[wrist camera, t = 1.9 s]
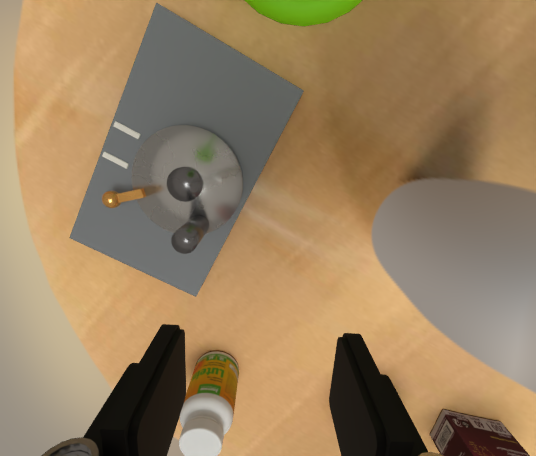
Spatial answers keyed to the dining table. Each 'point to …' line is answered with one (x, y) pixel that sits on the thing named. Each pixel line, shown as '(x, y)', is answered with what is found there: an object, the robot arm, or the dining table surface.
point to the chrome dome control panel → (184, 183)
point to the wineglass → (303, 10)
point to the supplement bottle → (209, 405)
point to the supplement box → (473, 436)
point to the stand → (172, 114)
